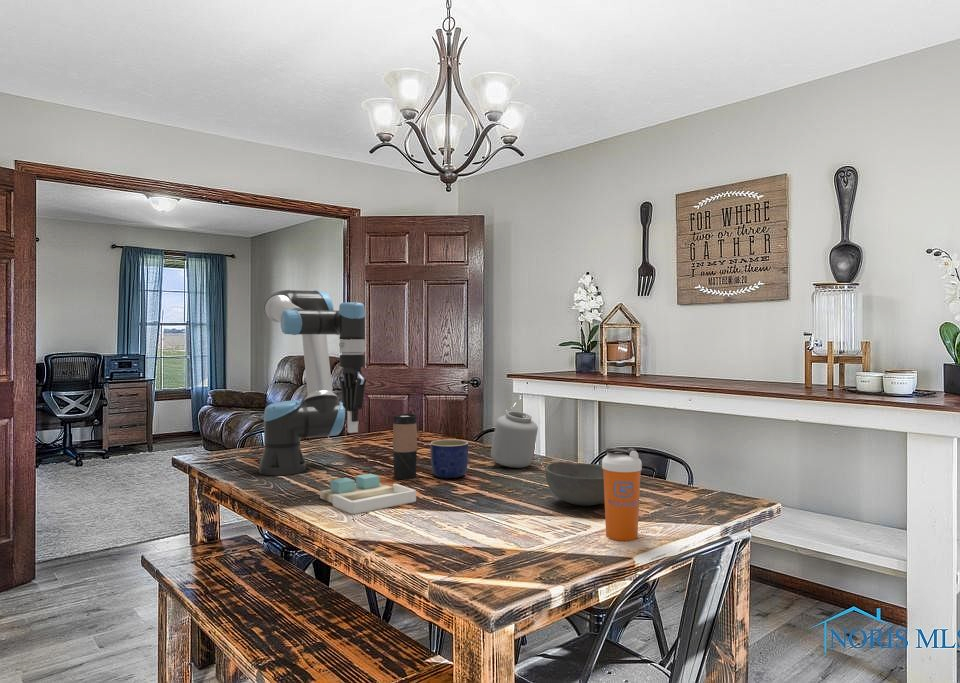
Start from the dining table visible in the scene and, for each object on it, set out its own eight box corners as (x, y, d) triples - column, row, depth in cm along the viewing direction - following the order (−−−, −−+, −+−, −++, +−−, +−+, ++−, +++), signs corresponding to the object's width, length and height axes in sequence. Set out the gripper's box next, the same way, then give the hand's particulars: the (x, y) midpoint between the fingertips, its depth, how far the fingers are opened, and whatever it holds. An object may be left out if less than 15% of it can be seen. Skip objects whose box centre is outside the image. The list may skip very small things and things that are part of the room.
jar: (550, 466, 224) (550, 394, 223) (526, 473, 212) (526, 398, 212) (506, 459, 235) (506, 391, 235) (482, 466, 224) (482, 394, 224)
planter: (423, 478, 205) (423, 444, 205) (440, 470, 217) (440, 438, 217) (459, 481, 201) (459, 446, 201) (474, 473, 212) (474, 440, 212)
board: (320, 497, 181) (320, 490, 181) (375, 488, 192) (375, 481, 192) (336, 505, 173) (336, 497, 173) (393, 494, 185) (393, 487, 185)
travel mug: (412, 480, 203) (412, 417, 203) (389, 478, 204) (389, 416, 204) (419, 474, 210) (419, 414, 210) (397, 473, 212) (397, 413, 212)
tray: (332, 505, 173) (332, 494, 173) (396, 493, 186) (395, 483, 185) (352, 514, 164) (352, 502, 164) (417, 501, 177) (417, 490, 177)
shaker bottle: (597, 530, 151) (597, 446, 150) (634, 529, 151) (634, 445, 151) (608, 543, 142) (608, 453, 142) (647, 541, 143) (647, 452, 142)
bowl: (574, 518, 160) (574, 479, 160) (531, 500, 178) (531, 464, 178) (636, 508, 170) (636, 471, 170) (589, 491, 188) (589, 457, 188)
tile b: (330, 490, 181) (330, 479, 181) (346, 487, 185) (346, 477, 184) (338, 493, 177) (338, 483, 177) (354, 491, 181) (354, 480, 181)
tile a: (355, 486, 186) (355, 475, 186) (370, 483, 190) (370, 473, 190) (364, 489, 183) (364, 478, 183) (379, 486, 186) (379, 476, 186)
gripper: (330, 353, 195) (331, 431, 195) (351, 354, 185) (352, 436, 185) (352, 353, 200) (353, 428, 200) (374, 354, 190) (374, 433, 190)
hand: (352, 432), depth 193 cm, fingers closed
